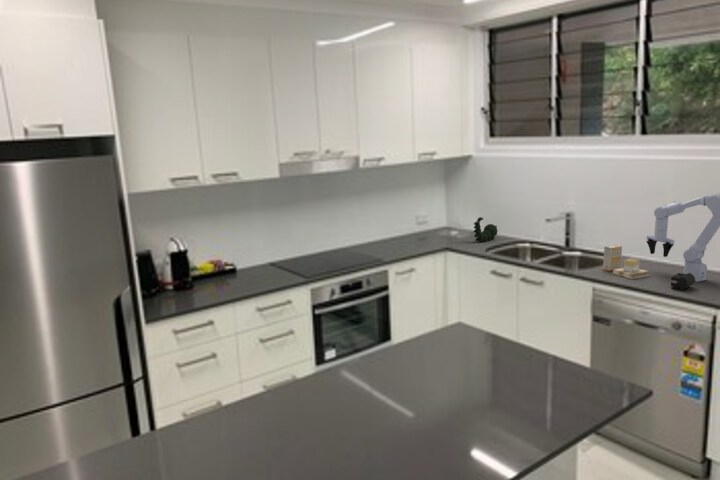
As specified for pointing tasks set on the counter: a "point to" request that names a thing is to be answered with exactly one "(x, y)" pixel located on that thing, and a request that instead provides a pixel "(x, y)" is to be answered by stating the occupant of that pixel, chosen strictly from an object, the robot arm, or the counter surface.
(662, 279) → the counter surface
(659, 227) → the robot arm
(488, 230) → the toy figurine
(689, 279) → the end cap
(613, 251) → the supplement box
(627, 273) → the stand
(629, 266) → the block
